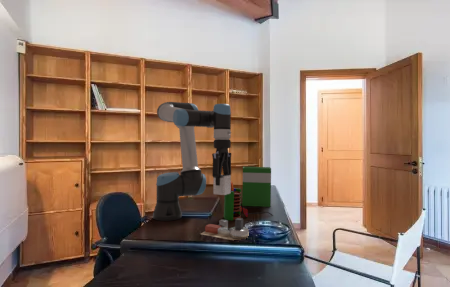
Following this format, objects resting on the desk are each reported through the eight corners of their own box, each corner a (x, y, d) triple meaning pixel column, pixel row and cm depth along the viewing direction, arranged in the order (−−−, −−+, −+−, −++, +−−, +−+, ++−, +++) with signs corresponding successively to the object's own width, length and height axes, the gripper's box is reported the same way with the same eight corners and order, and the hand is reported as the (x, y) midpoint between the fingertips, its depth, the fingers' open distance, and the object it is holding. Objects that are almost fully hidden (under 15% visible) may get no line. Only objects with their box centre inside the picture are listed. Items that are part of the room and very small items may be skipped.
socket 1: (213, 194, 129) (213, 175, 129) (219, 192, 134) (219, 174, 134) (224, 195, 126) (224, 175, 126) (230, 193, 131) (230, 174, 131)
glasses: (236, 212, 171) (236, 204, 170) (261, 210, 177) (261, 202, 176) (246, 218, 158) (246, 209, 157) (273, 216, 164) (273, 207, 163)
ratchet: (202, 233, 129) (203, 216, 129) (211, 228, 136) (212, 212, 136) (244, 240, 120) (244, 222, 120) (251, 235, 127) (251, 218, 127)
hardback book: (269, 204, 192) (270, 167, 191) (270, 206, 184) (271, 168, 184) (242, 203, 193) (243, 166, 193) (242, 205, 186) (242, 167, 185)
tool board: (200, 236, 128) (200, 234, 128) (214, 228, 139) (214, 226, 139) (251, 246, 117) (251, 243, 117) (262, 236, 129) (262, 234, 128)
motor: (239, 222, 149) (239, 183, 148) (221, 221, 150) (222, 182, 150) (242, 217, 159) (242, 180, 158) (225, 216, 160) (226, 179, 160)
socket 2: (217, 230, 133) (217, 221, 133) (221, 227, 137) (221, 219, 137) (225, 231, 132) (225, 222, 132) (229, 228, 135) (229, 220, 135)
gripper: (219, 138, 120) (219, 195, 120) (238, 139, 137) (239, 189, 136) (203, 138, 124) (203, 194, 123) (224, 139, 140) (224, 188, 140)
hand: (222, 191), depth 130 cm, fingers closed on socket 1, 6 cm apart
